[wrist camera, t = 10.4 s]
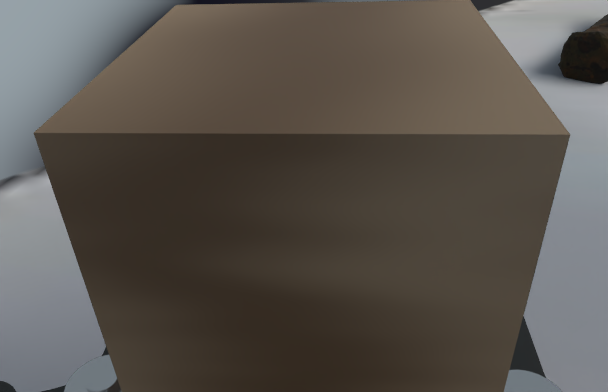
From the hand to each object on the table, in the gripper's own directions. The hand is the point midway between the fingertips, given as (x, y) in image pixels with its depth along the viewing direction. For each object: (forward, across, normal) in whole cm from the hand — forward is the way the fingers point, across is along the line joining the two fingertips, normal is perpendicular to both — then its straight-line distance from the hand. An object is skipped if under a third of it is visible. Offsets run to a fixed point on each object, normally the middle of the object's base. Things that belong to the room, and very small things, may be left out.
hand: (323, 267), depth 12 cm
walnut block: (-3, 0, +7) cm, 7 cm away
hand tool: (+38, -23, +8) cm, 45 cm away
